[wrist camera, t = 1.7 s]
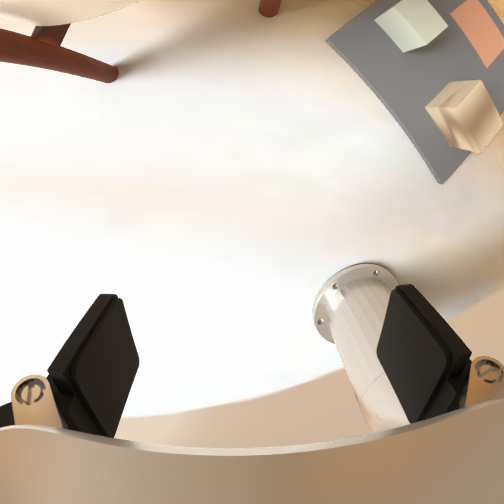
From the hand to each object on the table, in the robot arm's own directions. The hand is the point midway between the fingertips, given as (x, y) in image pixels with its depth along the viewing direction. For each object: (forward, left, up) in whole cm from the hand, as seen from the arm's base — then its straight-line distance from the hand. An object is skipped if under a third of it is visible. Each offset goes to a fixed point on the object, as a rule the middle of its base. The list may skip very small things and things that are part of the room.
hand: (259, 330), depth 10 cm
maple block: (-11, -25, -23) cm, 36 cm away
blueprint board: (-6, -33, -24) cm, 41 cm away
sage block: (+1, -27, -23) cm, 35 cm away
